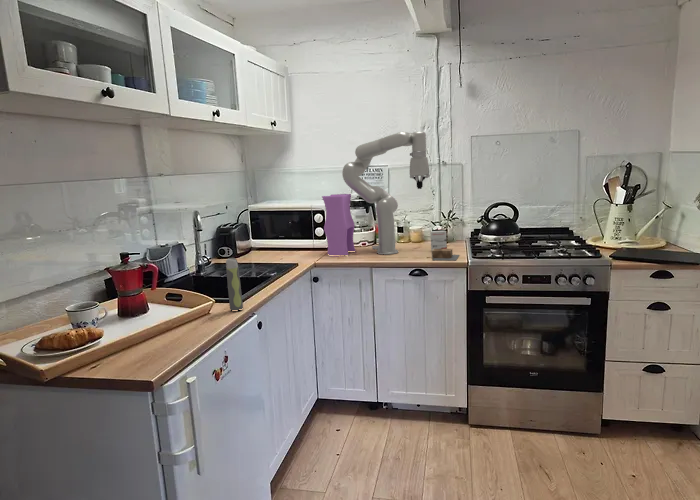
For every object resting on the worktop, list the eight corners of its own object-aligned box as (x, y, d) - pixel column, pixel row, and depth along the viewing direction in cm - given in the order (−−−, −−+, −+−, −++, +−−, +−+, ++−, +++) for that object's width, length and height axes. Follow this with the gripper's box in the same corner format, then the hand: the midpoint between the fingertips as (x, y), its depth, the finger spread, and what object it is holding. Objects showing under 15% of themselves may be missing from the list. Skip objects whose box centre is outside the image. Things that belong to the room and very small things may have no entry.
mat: (432, 260, 249) (432, 259, 249) (437, 255, 262) (437, 254, 262) (455, 260, 245) (455, 259, 245) (459, 255, 258) (459, 254, 258)
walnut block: (431, 250, 252) (450, 250, 249) (433, 248, 258) (452, 248, 254) (431, 258, 253) (450, 258, 250) (433, 255, 259) (452, 256, 255)
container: (334, 252, 292) (331, 194, 286) (356, 252, 287) (352, 193, 281) (325, 256, 279) (321, 196, 273) (348, 256, 274) (344, 195, 268)
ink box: (446, 250, 275) (445, 230, 273) (447, 252, 270) (446, 231, 268) (430, 251, 276) (430, 230, 274) (431, 252, 271) (430, 232, 269)
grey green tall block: (228, 310, 180) (222, 258, 177) (240, 307, 183) (235, 256, 179) (233, 313, 176) (227, 260, 173) (245, 310, 179) (240, 257, 175)
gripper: (404, 155, 261) (404, 189, 264) (431, 154, 255) (431, 188, 258) (407, 155, 267) (408, 188, 271) (434, 154, 262) (434, 188, 265)
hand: (419, 188), depth 264 cm, fingers closed
